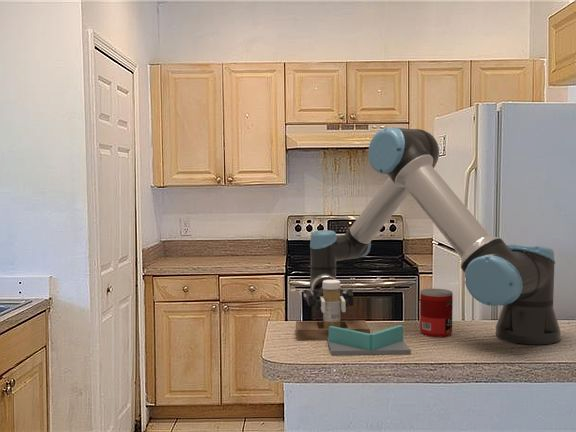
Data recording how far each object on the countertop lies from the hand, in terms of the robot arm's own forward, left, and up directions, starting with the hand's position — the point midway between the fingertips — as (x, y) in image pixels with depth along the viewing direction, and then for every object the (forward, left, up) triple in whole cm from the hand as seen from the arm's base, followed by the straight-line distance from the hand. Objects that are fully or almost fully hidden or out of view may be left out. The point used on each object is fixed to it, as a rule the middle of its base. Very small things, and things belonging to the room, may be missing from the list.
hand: (333, 306), depth 163 cm
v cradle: (-9, +4, -8) cm, 13 cm away
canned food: (-23, -14, -9) cm, 28 cm away
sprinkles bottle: (+2, -5, -8) cm, 10 cm away
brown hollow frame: (+2, -5, -8) cm, 10 cm away
